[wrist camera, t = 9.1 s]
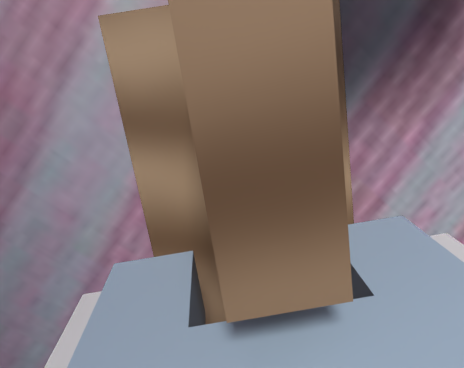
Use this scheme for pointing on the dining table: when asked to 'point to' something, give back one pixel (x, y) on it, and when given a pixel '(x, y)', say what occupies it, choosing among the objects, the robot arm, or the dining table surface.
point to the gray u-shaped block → (289, 314)
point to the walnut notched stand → (241, 146)
